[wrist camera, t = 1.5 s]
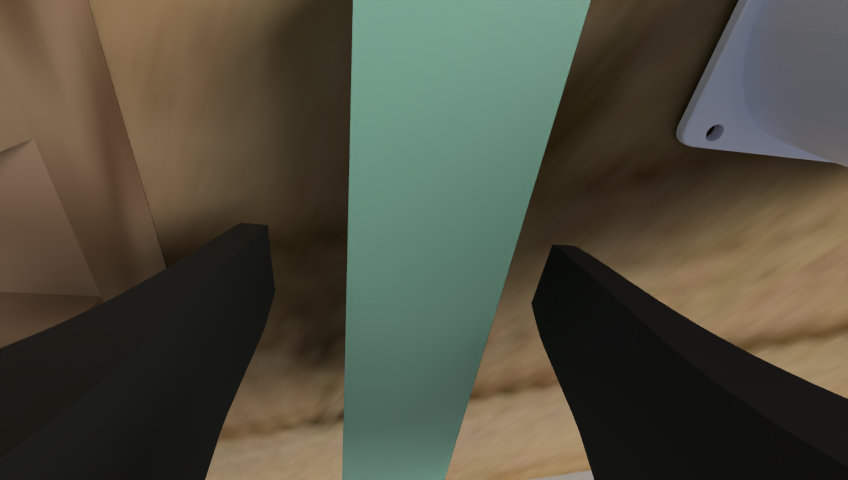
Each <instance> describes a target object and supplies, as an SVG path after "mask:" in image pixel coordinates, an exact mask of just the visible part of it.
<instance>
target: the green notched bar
mask: <svg viewBox="0 0 848 480" xmlns="http://www.w3.org/2000/svg"><path fill="white" fill-rule="evenodd" d="M590 1H591V0H353V26H352V70H351V115H350V159H349V204H348V249H347V293H346V338H345V383H344V427H343V472H342V480H445V476H446V473H447V470H448V466H449V463H450V460H451V457H452V453H453V450H454V447H455V444H456V440H457V437H458V434H459V430H460V427H461V424H462V421H463V417H464V414H465V411H466V408H467V404H468V401H469V398H470V394H471V391H472V388H473V385H474V381H475V378H476V375H477V371H478V368H479V365H480V362H481V358H482V355H483V352H484V349H485V345H486V342H487V339H488V335H489V332H490V329H491V326H492V322H493V319H494V316H495V313H496V309H497V306H498V303H499V299H500V296H501V293H502V290H503V286H504V283H505V280H506V276H507V273H508V270H509V267H510V263H511V260H512V257H513V254H514V250H515V247H516V244H517V240H518V237H519V234H520V231H521V227H522V224H523V221H524V218H525V214H526V211H527V208H528V204H529V201H530V198H531V195H532V191H533V188H534V185H535V181H536V178H537V175H538V172H539V168H540V165H541V162H542V159H543V155H544V152H545V149H546V145H547V142H548V139H549V136H550V132H551V129H552V126H553V123H554V119H555V116H556V113H557V109H558V106H559V103H560V100H561V96H562V93H563V90H564V86H565V83H566V80H567V77H568V73H569V70H570V67H571V64H572V60H573V57H574V54H575V50H576V47H577V44H578V41H579V37H580V34H581V31H582V28H583V24H584V21H585V18H586V14H587V11H588V8H589V5H590Z"/></svg>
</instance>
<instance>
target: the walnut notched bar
mask: <svg viewBox="0 0 848 480" xmlns="http://www.w3.org/2000/svg"><path fill="white" fill-rule="evenodd" d="M164 269H166V265H165V262H164V258H163V255H162V251H161V248H160V245H159V241H158V238H157V234H156V231H155V228H154V224H153V221H152V217H151V214H150V211H149V207H148V204H147V200H146V197H145V193H144V190H143V187H142V183H141V180H140V176H139V173H138V170H137V166H136V163H135V159H134V156H133V153H132V149H131V146H130V142H129V139H128V135H127V132H126V129H125V125H124V122H123V118H122V115H121V112H120V108H119V105H118V101H117V98H116V95H115V91H114V88H113V84H112V81H111V77H110V74H109V71H108V67H107V64H106V60H105V57H104V54H103V50H102V47H101V43H100V40H99V37H98V33H97V30H96V26H95V23H94V19H93V16H92V13H91V9H90V6H89V2H88V0H0V348H2V347H4V346H7V345H9V344H12V343H14V342H17V341H19V340H22V339H24V338H27V337H29V336H31V335H34V334H36V333H39V332H41V331H44V330H46V329H48V328H51V327H53V326H55V325H57V324H60V323H62V322H64V321H66V320H68V319H70V318H73V317H75V316H77V315H79V314H81V313H83V312H85V311H87V310H90V309H92V308H94V307H96V306H98V305H100V304H102V303H104V302H106V301H108V300H110V299H112V298H114V297H116V296H118V295H120V294H122V293H123V292H125V291H127V290H129V289H131V288H132V287H134V286H136V285H138V284H139V283H141V282H143V281H145V280H147V279H148V278H150V277H152V276H154V275H156V274H157V273H159V272H161V271H163V270H164Z"/></svg>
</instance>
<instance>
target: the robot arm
mask: <svg viewBox="0 0 848 480" xmlns="http://www.w3.org/2000/svg"><path fill="white" fill-rule="evenodd" d="M714 125H715V127H714V130H713V132H712V133H711V134H710V135H708V136H707V137H706V134H707V131H708V130H709V129H710V128H711V127H712V126H714ZM676 135H677V139H678V140H679V141H680V142H681V143H683V144H685V145H688V146H691V147H699V148H707V149H716V150H725V151H734V152H743V153H752V154H761V155H770V156H779V157H788V158H797V159H806V160H815V161H824V162H833V163H837V164H840V165H842V166H845V167H848V0H739V1H738V3H737V5H736V7H735V9H734V11H733V13H732V15H731V17H730V19H729V21H728V23H727V26H726V28H725V30H724V32H723V34H722V36H721V38H720V40H719V42H718V44H717V46H716V48H715V50H714V53H713V55H712V57H711V59H710V61H709V63H708V65H707V67H706V69H705V71H704V73H703V75H702V77H701V80H700V82H699V84H698V86H697V88H696V90H695V92H694V94H693V96H692V98H691V100H690V102H689V104H688V107H687V109H686V111H685V113H684V115H683V117H682V119H681V121H680V123H679V125H678V128H677V131H676ZM274 292H275V288H274V279H273V270H272V261H271V252H270V244H269V235H268V226H267V225H259V224H245V223H240V224H239V225H237V226H235V227H233V228H231V229H230V230H228V231H226V232H225V233H223V234H221V235H220V236H218V237H217V238H215V239H213V240H212V241H210V242H209V243H207V244H205V245H204V246H202V247H201V248H199V249H197V250H196V251H194V252H193V253H191V254H189V255H188V256H186V257H184V258H183V259H181V260H180V261H178V262H176V263H175V264H173V265H171V266H170V267H168V268H166V269H164V270H163V271H161V272H159V273H157V274H156V275H154V276H152V277H150V278H148V279H147V280H145V281H143V282H141V283H139V284H138V285H136V286H134V287H132V288H131V289H129V290H127V291H125V292H123V293H122V294H120V295H118V296H116V297H114V298H112V299H110V300H108V301H106V302H104V303H102V304H100V305H98V306H96V307H94V308H92V309H90V310H87V311H85V312H83V313H81V314H79V315H77V316H75V317H73V318H70V319H68V320H66V321H64V322H62V323H60V324H57V325H55V326H53V327H51V328H48V329H46V330H44V331H41V332H39V333H36V334H34V335H31V336H29V337H27V338H24V339H22V340H19V341H17V342H14V343H12V344H9V345H7V346H4V347H2V348H0V480H205V478H206V475H207V472H208V469H209V466H210V463H211V459H212V456H213V453H214V450H215V447H216V444H217V441H218V438H219V435H220V432H221V429H222V426H223V424H224V421H225V419H226V416H227V413H228V411H229V409H230V406H231V404H232V402H233V399H234V397H235V395H236V393H237V390H238V388H239V386H240V383H241V381H242V379H243V376H244V374H245V372H246V370H247V367H248V365H249V363H250V360H251V358H252V356H253V354H254V351H255V349H256V347H257V344H258V342H259V340H260V337H261V335H262V332H263V330H264V328H265V325H266V321H267V318H268V314H269V311H270V307H271V304H272V300H273V296H274ZM531 304H532V308H533V312H534V316H535V320H536V324H537V328H538V331H539V335H540V338H541V340H542V343H543V345H544V348H545V350H546V353H547V355H548V357H549V360H550V362H551V365H552V367H553V369H554V372H555V374H556V376H557V379H558V381H559V383H560V386H561V388H562V390H563V393H564V395H565V397H566V400H567V402H568V404H569V407H570V409H571V411H572V414H573V416H574V419H575V422H576V424H577V427H578V429H579V432H580V435H581V438H582V441H583V445H584V448H585V451H586V454H587V457H588V461H589V464H590V467H591V470H592V473H593V477H594V480H848V399H847V398H844V397H842V396H840V395H838V394H835V393H833V392H831V391H828V390H826V389H824V388H821V387H819V386H817V385H815V384H812V383H810V382H808V381H806V380H804V379H802V378H800V377H798V376H795V375H793V374H791V373H789V372H787V371H785V370H783V369H781V368H778V367H776V366H774V365H772V364H770V363H768V362H766V361H764V360H762V359H760V358H758V357H756V356H754V355H752V354H750V353H748V352H746V351H744V350H742V349H741V348H739V347H737V346H735V345H733V344H731V343H729V342H728V341H726V340H724V339H722V338H720V337H718V336H716V335H715V334H713V333H711V332H709V331H708V330H706V329H704V328H702V327H701V326H699V325H697V324H695V323H694V322H692V321H690V320H689V319H687V318H686V317H684V316H682V315H681V314H679V313H677V312H676V311H674V310H673V309H671V308H669V307H668V306H666V305H665V304H663V303H662V302H660V301H658V300H657V299H655V298H654V297H652V296H651V295H649V294H648V293H646V292H645V291H643V290H642V289H640V288H639V287H637V286H636V285H634V284H633V283H631V282H630V281H628V280H627V279H625V278H624V277H622V276H621V275H620V274H618V273H617V272H615V271H614V270H612V269H611V268H609V267H608V266H606V265H605V264H603V263H602V262H600V261H599V260H597V259H596V258H594V257H593V256H591V255H589V254H588V253H586V252H585V251H583V250H581V249H579V248H577V247H575V246H567V245H552V248H551V250H550V253H549V256H548V259H547V261H546V264H545V267H544V270H543V273H542V275H541V278H540V281H539V284H538V287H537V289H536V292H535V295H534V298H533V300H532V303H531Z"/></svg>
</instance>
